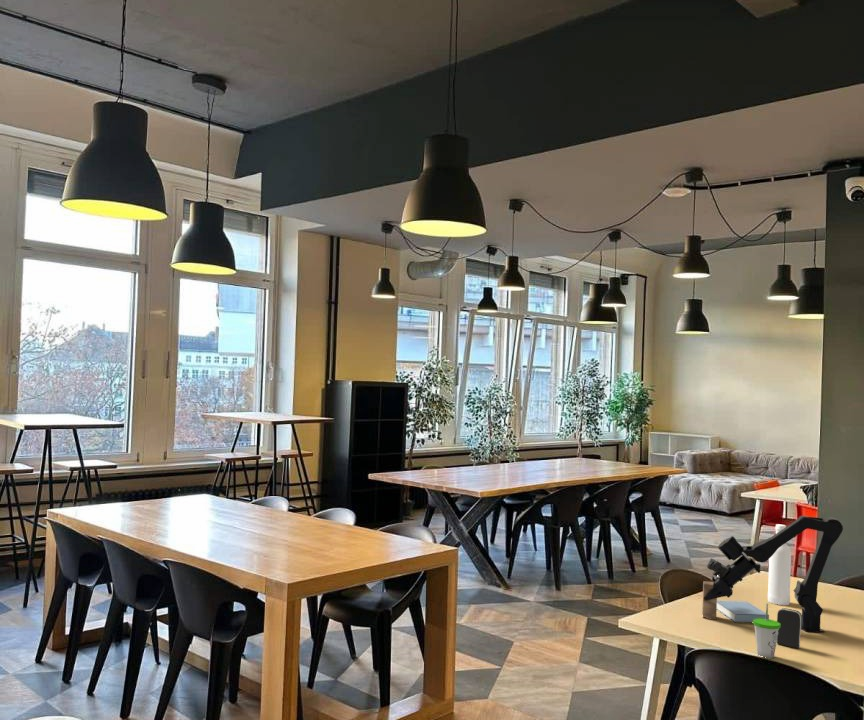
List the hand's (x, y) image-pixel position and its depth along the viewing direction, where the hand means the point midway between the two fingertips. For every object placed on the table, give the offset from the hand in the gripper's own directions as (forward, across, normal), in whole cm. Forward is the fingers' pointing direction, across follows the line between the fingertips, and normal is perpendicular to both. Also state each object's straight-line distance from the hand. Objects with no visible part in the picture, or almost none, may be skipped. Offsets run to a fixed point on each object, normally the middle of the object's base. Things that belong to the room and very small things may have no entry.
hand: (704, 597), depth 276 cm
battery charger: (-13, +22, +22) cm, 34 cm away
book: (-4, -7, +14) cm, 16 cm away
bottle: (-16, -34, +25) cm, 45 cm away
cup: (-7, +37, +16) cm, 41 cm away
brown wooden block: (+3, 0, +6) cm, 7 cm away
